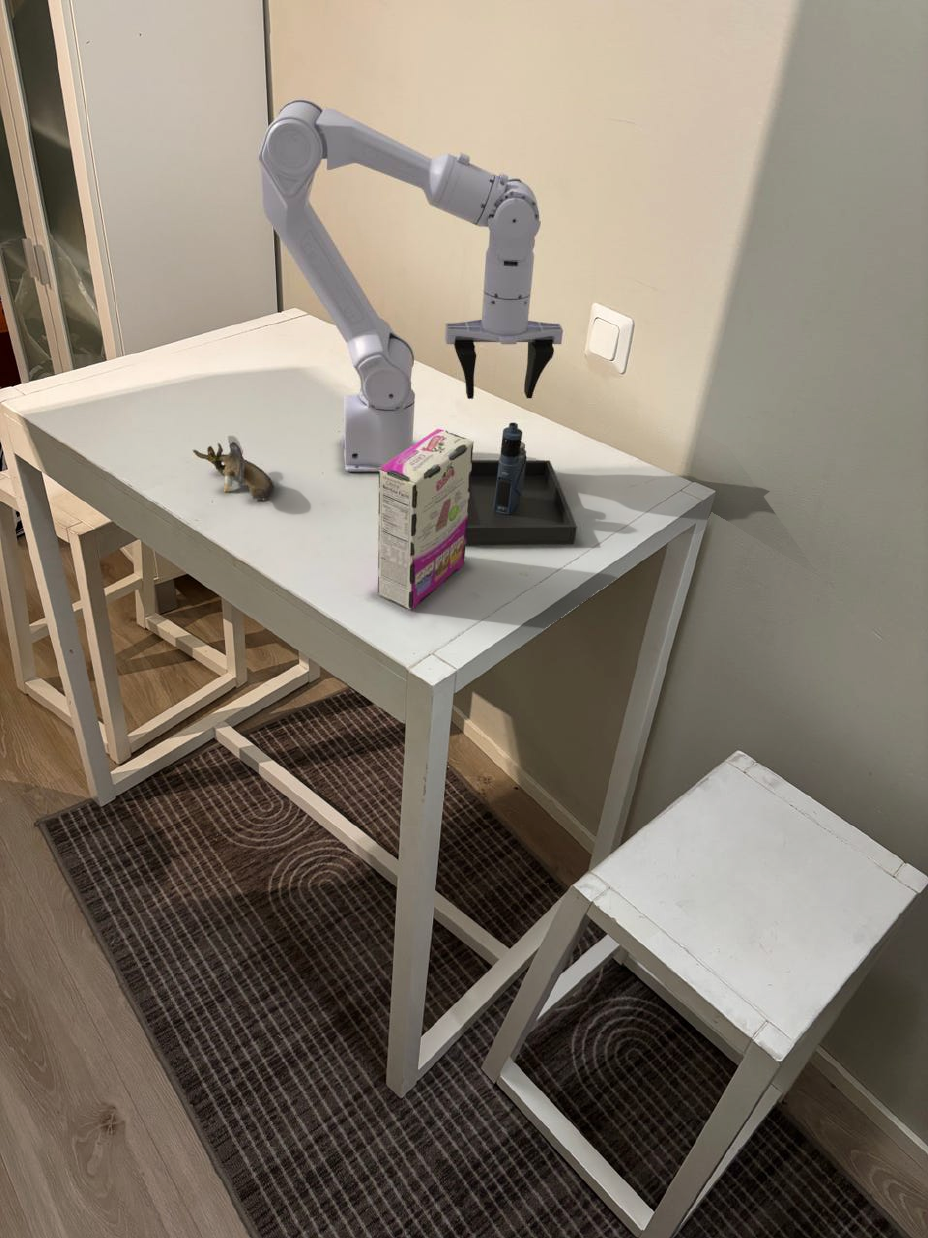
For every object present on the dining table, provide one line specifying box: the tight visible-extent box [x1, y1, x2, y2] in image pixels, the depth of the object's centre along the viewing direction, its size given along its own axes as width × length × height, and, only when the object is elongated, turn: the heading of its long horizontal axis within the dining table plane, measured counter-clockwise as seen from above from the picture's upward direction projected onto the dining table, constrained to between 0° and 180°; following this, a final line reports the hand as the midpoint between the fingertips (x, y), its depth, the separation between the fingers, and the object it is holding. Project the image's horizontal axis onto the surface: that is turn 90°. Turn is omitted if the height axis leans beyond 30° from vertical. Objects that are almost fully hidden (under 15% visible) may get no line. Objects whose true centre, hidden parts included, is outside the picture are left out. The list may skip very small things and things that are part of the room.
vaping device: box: [494, 422, 527, 515], centre depth 119 cm, size 3×5×12 cm, turn 158°
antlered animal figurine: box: [192, 435, 275, 502], centre depth 120 cm, size 8×7×9 cm
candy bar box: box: [377, 428, 475, 611], centre depth 104 cm, size 11×5×16 cm, turn 148°
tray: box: [465, 459, 578, 546], centre depth 122 cm, size 14×16×2 cm
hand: (498, 395), depth 125 cm, fingers open, 7 cm apart
